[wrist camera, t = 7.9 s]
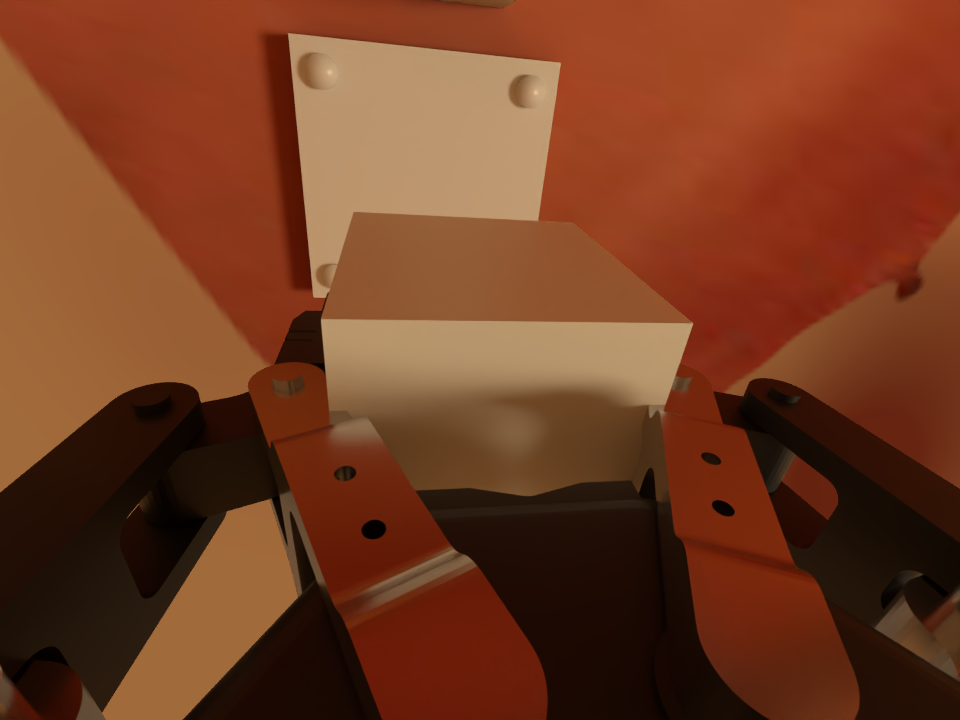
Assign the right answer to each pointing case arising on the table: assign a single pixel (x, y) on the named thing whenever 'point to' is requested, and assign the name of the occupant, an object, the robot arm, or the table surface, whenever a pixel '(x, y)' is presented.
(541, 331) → the cream brick
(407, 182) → the baseplate
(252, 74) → the table surface
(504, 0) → the sage brick
